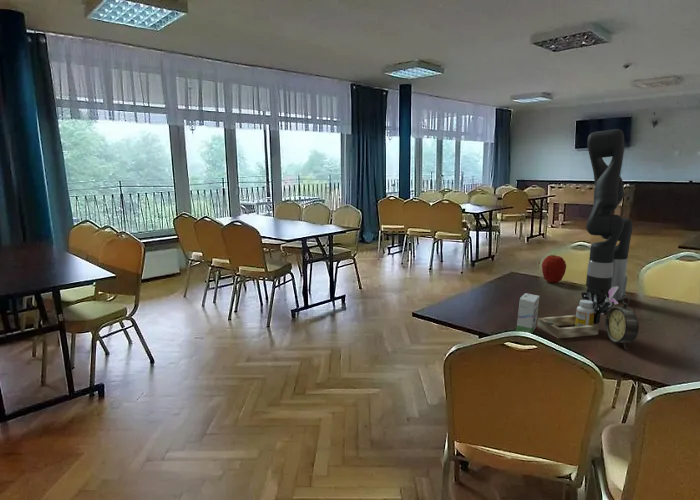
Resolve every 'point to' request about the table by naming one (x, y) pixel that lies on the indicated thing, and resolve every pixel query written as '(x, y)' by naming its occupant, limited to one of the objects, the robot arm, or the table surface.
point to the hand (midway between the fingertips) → (594, 323)
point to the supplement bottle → (584, 313)
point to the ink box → (528, 313)
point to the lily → (611, 293)
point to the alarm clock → (622, 324)
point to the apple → (553, 268)
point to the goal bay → (552, 322)
